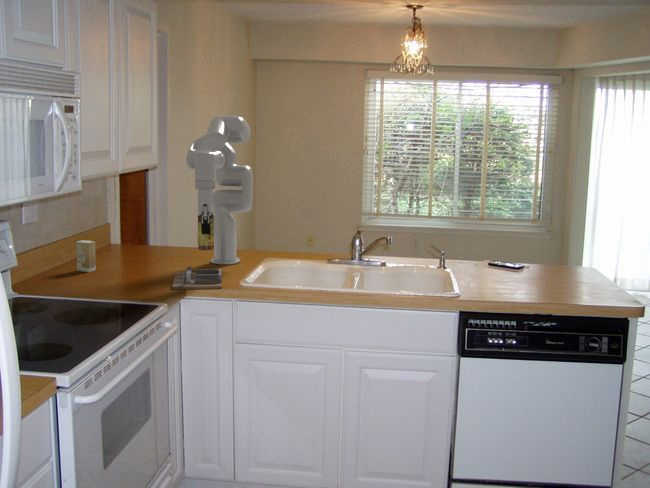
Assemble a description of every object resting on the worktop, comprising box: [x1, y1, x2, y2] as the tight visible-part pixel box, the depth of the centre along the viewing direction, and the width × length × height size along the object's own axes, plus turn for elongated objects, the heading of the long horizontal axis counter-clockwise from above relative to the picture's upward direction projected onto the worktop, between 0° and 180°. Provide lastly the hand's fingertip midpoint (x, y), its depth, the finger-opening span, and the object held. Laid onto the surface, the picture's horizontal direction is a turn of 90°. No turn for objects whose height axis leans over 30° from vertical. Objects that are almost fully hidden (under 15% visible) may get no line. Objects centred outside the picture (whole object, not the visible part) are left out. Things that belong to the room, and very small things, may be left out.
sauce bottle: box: [197, 205, 215, 251], centre depth 256 cm, size 7×6×20 cm
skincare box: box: [75, 239, 97, 273], centre depth 276 cm, size 6×4×12 cm
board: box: [171, 268, 223, 290], centre depth 262 cm, size 24×18×4 cm
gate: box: [186, 265, 192, 283], centre depth 259 cm, size 10×2×4 cm, turn 9°
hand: (206, 232), depth 257 cm, fingers closed on sauce bottle, 6 cm apart
